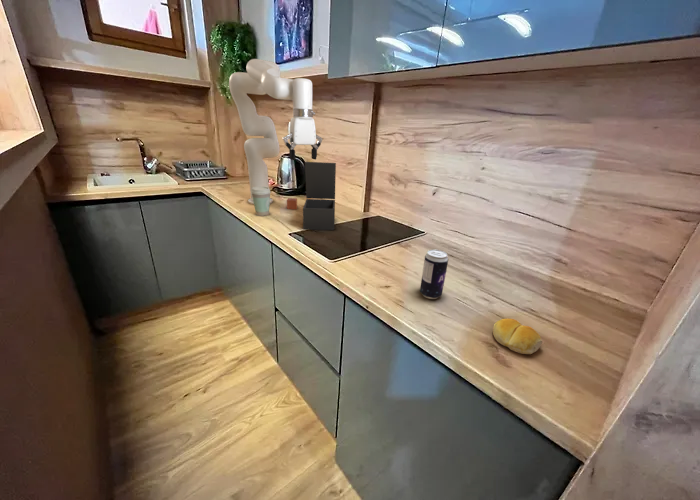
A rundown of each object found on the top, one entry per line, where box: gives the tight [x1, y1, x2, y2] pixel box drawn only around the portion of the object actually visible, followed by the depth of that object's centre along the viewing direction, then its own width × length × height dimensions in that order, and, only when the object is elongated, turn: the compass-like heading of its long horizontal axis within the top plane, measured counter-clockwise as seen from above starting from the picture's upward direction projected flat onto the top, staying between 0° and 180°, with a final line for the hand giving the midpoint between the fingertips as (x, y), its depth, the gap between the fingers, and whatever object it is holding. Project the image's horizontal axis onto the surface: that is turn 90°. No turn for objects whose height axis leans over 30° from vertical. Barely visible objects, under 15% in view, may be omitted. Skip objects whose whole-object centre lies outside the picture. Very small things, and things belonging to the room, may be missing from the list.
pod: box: [286, 197, 298, 210], centre depth 151 cm, size 4×4×4 cm
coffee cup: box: [251, 186, 271, 217], centre depth 138 cm, size 8×8×12 cm
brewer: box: [302, 198, 336, 231], centre depth 129 cm, size 16×13×9 cm
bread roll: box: [492, 317, 543, 355], centre depth 63 cm, size 8×9×4 cm
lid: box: [304, 161, 337, 200], centre depth 129 cm, size 16×13×1 cm
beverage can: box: [419, 249, 449, 300], centre depth 77 cm, size 6×6×12 cm
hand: (303, 159), depth 126 cm, fingers open, 9 cm apart
